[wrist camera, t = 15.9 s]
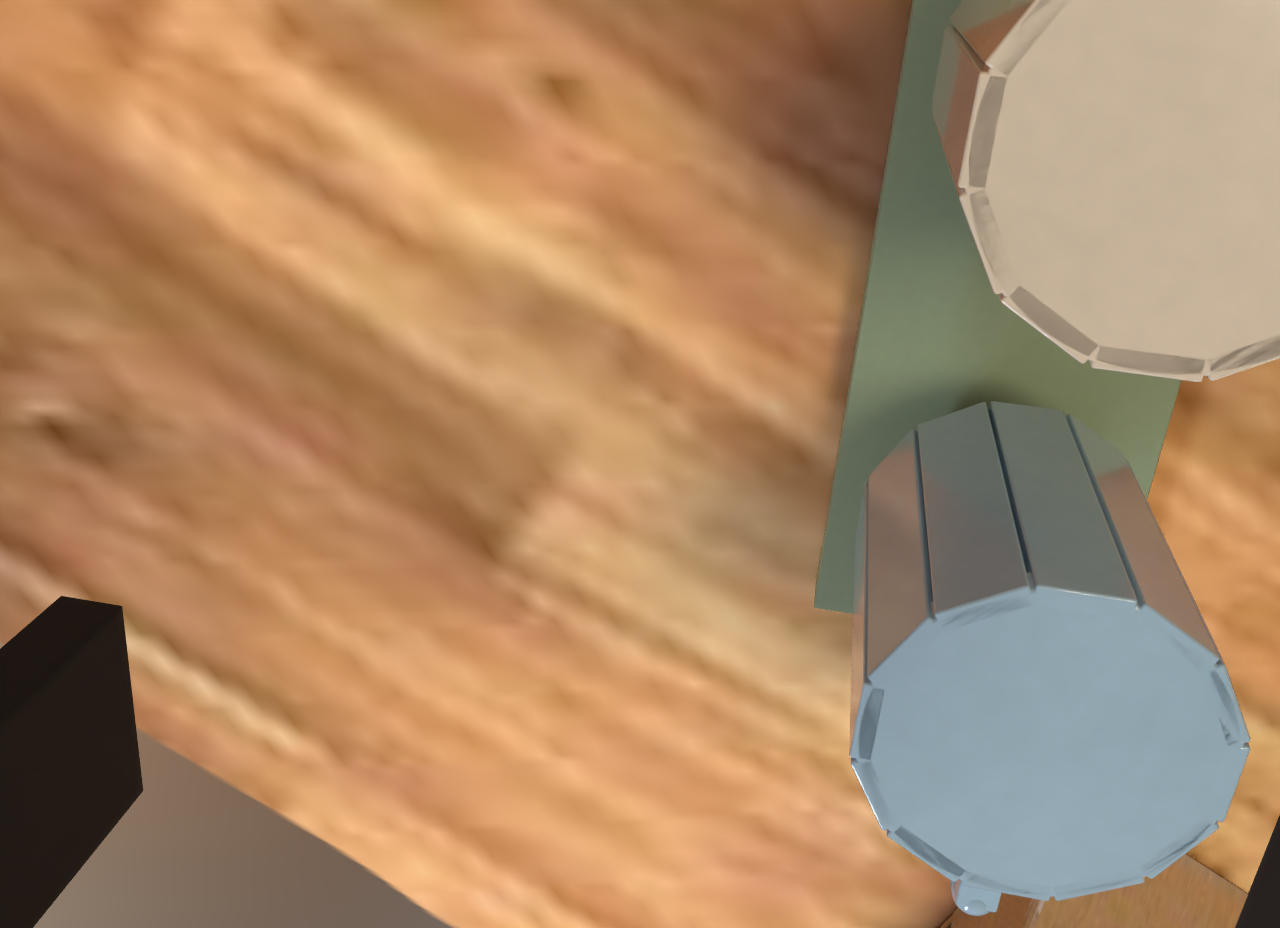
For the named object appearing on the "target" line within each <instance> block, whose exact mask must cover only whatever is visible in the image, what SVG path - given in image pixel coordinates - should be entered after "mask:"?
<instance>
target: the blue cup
mask: <svg viewBox="0 0 1280 928" xmlns="http://www.w3.org/2000/svg"><path fill="white" fill-rule="evenodd" d="M917 429H918V432H917V431H916V430H915V429H911V430H910V431H909V432H908V433H907V435H906V436H905V437H904V438H903V439H902V440H901V441H900V442H899V443H898V444H897V446H896V447H895V448H894V449H893V450H892V451H891V452H890V453H889V454H888V455H887V457H886V458H885V459H884V460H883V461H882V462H881V463H880V464H879V465H878V466H877V468H876V469H875V470H874V471H873V472H872V473H871V474H870V475H869V477H868V482H866V483H865V487H864V492H863V498H862V504H861V509H860V515H859V520H858V526H857V532H856V537H855V561H854V598H853V636H852V673H851V711H850V748H849V755H850V757H851V765H852V767H853V770H854V772H855V774H856V776H857V778H858V780H859V782H860V784H861V787H862V789H863V791H864V793H865V795H866V797H867V799H868V802H869V804H870V806H871V808H872V810H873V812H874V814H875V816H876V819H877V821H878V823H879V825H880V827H881V829H882V830H887V836H888V837H889V838H891V839H892V840H894V841H895V842H896V843H898V844H899V845H901V846H902V847H904V848H905V849H907V850H908V851H909V852H911V853H912V854H914V855H915V856H917V857H918V858H919V859H921V860H922V861H924V862H925V863H927V864H928V865H930V866H931V867H932V868H934V869H935V870H937V871H938V872H940V873H941V874H943V875H944V876H945V877H947V878H948V879H950V880H951V892H952V897H953V900H954V902H955V904H956V905H957V907H958V908H959V909H960V910H961V911H963V912H964V913H966V914H968V915H972V916H983V915H985V914H987V913H989V912H996V911H997V909H998V905H999V902H1000V898H1001V894H1002V893H1005V894H1011V895H1016V896H1022V897H1027V898H1032V899H1038V900H1043V901H1049V899H1050V897H1054V898H1055V900H1056V901H1061V900H1065V899H1070V898H1075V897H1080V896H1084V895H1089V894H1094V893H1098V892H1103V891H1108V890H1112V889H1117V888H1122V887H1126V886H1131V885H1136V884H1141V883H1144V881H1145V879H1144V877H1146V876H1147V877H1149V878H1150V879H1153V878H1154V877H1156V876H1157V875H1158V874H1160V873H1161V872H1162V871H1164V870H1165V869H1166V868H1167V867H1169V866H1170V865H1171V864H1173V863H1174V862H1175V861H1177V860H1178V859H1179V858H1181V857H1182V856H1183V855H1184V854H1186V853H1187V852H1188V851H1190V850H1191V849H1192V848H1194V847H1195V846H1196V845H1198V844H1199V843H1200V842H1202V841H1203V840H1204V839H1205V838H1207V837H1208V836H1209V835H1211V834H1212V833H1213V832H1215V831H1216V830H1217V829H1218V828H1219V825H1218V823H1217V821H1219V822H1223V821H1224V820H1225V817H1226V815H1227V812H1228V809H1229V806H1230V804H1231V801H1232V798H1233V795H1234V793H1235V790H1236V787H1237V784H1238V781H1239V779H1240V776H1241V773H1242V770H1243V768H1244V765H1245V762H1246V759H1247V757H1248V754H1249V751H1250V746H1249V744H1248V742H1249V741H1250V736H1249V733H1248V730H1247V727H1246V724H1245V721H1244V718H1243V715H1242V712H1241V709H1240V706H1239V703H1238V700H1237V698H1236V695H1235V692H1234V689H1233V686H1232V683H1231V680H1230V677H1229V674H1228V671H1227V668H1226V665H1225V663H1224V661H1223V659H1222V657H1221V655H1220V653H1219V651H1218V648H1217V646H1216V644H1215V642H1214V640H1213V638H1212V636H1211V634H1210V632H1209V630H1208V627H1207V625H1206V623H1205V621H1204V619H1203V617H1202V615H1201V613H1200V611H1199V609H1198V606H1197V604H1196V602H1195V600H1194V598H1193V596H1192V594H1191V592H1190V590H1189V588H1188V585H1187V583H1186V581H1185V579H1184V577H1183V575H1182V573H1181V571H1180V569H1179V567H1178V564H1177V562H1176V560H1175V558H1174V556H1173V554H1172V552H1171V550H1170V548H1169V546H1168V543H1167V541H1166V539H1165V537H1164V535H1163V533H1162V531H1161V529H1160V527H1159V525H1158V522H1157V520H1156V518H1155V516H1154V514H1153V512H1152V510H1151V508H1150V506H1149V504H1148V501H1147V499H1146V497H1145V495H1144V493H1143V491H1142V489H1141V487H1140V485H1139V483H1138V480H1137V478H1136V476H1135V474H1134V472H1133V470H1132V468H1131V466H1130V464H1129V462H1128V460H1127V459H1125V457H1124V455H1123V453H1122V452H1120V451H1119V450H1118V449H1116V448H1115V447H1114V446H1112V445H1111V444H1110V443H1109V442H1107V441H1106V440H1105V439H1103V438H1102V437H1101V436H1099V435H1098V434H1097V433H1095V432H1094V431H1093V430H1091V429H1090V428H1089V427H1087V426H1086V425H1085V424H1083V423H1082V422H1081V421H1079V420H1078V419H1077V418H1075V417H1074V416H1073V415H1071V414H1067V415H1066V416H1065V414H1064V412H1063V411H1062V410H1055V409H1048V408H1041V407H1033V406H1026V405H1019V404H1011V403H1004V402H997V401H991V403H990V406H989V409H988V406H987V404H986V402H982V403H979V404H976V405H973V406H970V407H968V408H965V409H962V410H959V411H956V412H953V413H950V414H948V415H945V416H942V417H939V418H936V419H933V420H930V421H927V422H925V423H922V424H919V425H918V426H917Z"/></svg>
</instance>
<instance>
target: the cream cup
mask: <svg viewBox="0 0 1280 928" xmlns="http://www.w3.org/2000/svg"><path fill="white" fill-rule="evenodd" d="M949 20H950V21H951V23H952V24H953V25H954V26H952V25H946V27H945V31H944V36H943V42H942V48H941V53H940V59H939V65H938V70H937V76H936V81H935V87H934V93H933V98H932V104H931V106H932V109H933V113H932V116H933V119H934V122H935V125H936V129H937V132H938V135H939V138H940V141H941V144H942V147H943V150H944V153H945V157H946V160H947V163H948V166H949V169H950V172H951V175H952V178H953V181H954V185H955V188H956V191H957V194H958V197H959V200H960V203H961V205H962V208H963V211H964V213H965V216H966V219H967V222H968V224H969V227H970V230H971V232H972V235H973V238H974V241H975V243H976V246H977V249H978V251H979V254H980V257H981V259H982V262H983V265H984V268H985V270H986V273H987V276H988V278H989V281H990V284H991V287H992V289H993V292H994V293H995V294H998V295H999V298H1000V301H1001V303H1002V304H1003V305H1005V306H1006V307H1007V308H1009V309H1010V310H1011V311H1013V312H1014V313H1015V314H1016V315H1018V316H1019V317H1020V318H1022V319H1023V320H1024V321H1026V322H1027V323H1028V324H1030V325H1031V326H1032V327H1034V328H1035V329H1036V330H1038V331H1039V332H1040V333H1041V334H1043V335H1044V336H1045V337H1047V338H1048V339H1049V340H1051V341H1052V342H1053V343H1055V344H1056V345H1057V346H1059V347H1060V348H1061V349H1063V350H1064V351H1065V352H1066V353H1068V354H1069V355H1070V356H1072V357H1073V358H1074V359H1076V360H1077V361H1078V362H1080V363H1082V364H1083V363H1085V362H1086V361H1087V360H1088V362H1089V364H1090V366H1091V367H1092V368H1095V369H1103V370H1110V371H1118V372H1125V373H1133V374H1140V375H1148V376H1156V377H1163V378H1171V379H1178V380H1186V381H1193V382H1201V381H1202V379H1203V376H1207V377H1208V378H1209V379H1210V380H1211V381H1213V380H1216V379H1219V378H1222V377H1225V376H1228V375H1231V374H1234V373H1237V372H1240V371H1243V370H1246V369H1249V368H1252V367H1255V366H1258V365H1261V364H1264V363H1267V362H1270V361H1273V360H1276V359H1279V358H1280V0H963V1H962V2H961V3H960V5H959V6H958V7H957V8H956V10H955V11H954V12H953V14H952V15H951V16H950V18H949Z"/></svg>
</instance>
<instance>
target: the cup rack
mask: <svg viewBox="0 0 1280 928" xmlns="http://www.w3.org/2000/svg"><path fill="white" fill-rule="evenodd" d="M962 1H963V0H912V6H911V12H910V18H909V24H908V30H907V36H906V42H905V48H904V54H903V60H902V66H901V72H900V78H899V84H898V90H897V96H896V102H895V108H894V114H893V120H892V127H891V133H890V139H889V145H888V151H887V157H886V163H885V169H884V175H883V181H882V187H881V193H880V199H879V205H878V211H877V217H876V223H875V229H874V235H873V241H872V247H871V254H870V260H869V266H868V272H867V278H866V284H865V290H864V296H863V302H862V308H861V314H860V320H859V326H858V332H857V338H856V344H855V350H854V356H853V362H852V368H851V375H850V381H849V387H848V393H847V399H846V405H845V411H844V417H843V423H842V429H841V435H840V441H839V447H838V453H837V459H836V465H835V471H834V477H833V483H832V489H831V495H830V502H829V508H828V514H827V520H826V526H825V532H824V538H823V544H822V550H821V556H820V562H819V568H818V574H817V580H816V588H815V600H814V607H815V608H820V609H826V610H832V611H838V612H845V613H851V614H853V598H854V561H855V537H856V532H857V526H858V520H859V515H860V509H861V504H862V498H863V492H864V487H865V483H866V482H868V477H869V475H870V474H871V473H872V472H873V471H874V470H875V469H876V468H877V466H878V465H879V464H880V463H881V462H882V461H883V460H884V459H885V458H886V457H887V455H888V454H889V453H890V452H891V451H892V450H893V449H894V448H895V447H896V446H897V444H898V443H899V442H900V441H901V440H902V439H903V438H904V437H905V436H906V435H907V433H908V432H909V431H910V430H911V429H915V430H916V431H917V432H918V429H917V426H918V425H919V424H922V423H925V422H927V421H930V420H933V419H936V418H939V417H942V416H945V415H948V414H950V413H953V412H956V411H959V410H962V409H965V408H968V407H970V406H973V405H976V404H979V403H982V402H986V404H987V406H988V409H989V406H990V403H991V401H997V402H1004V403H1011V404H1019V405H1026V406H1033V407H1041V408H1048V409H1055V410H1062V411H1063V412H1064V414H1065V416H1066V415H1067V414H1071V415H1073V416H1074V417H1075V418H1077V419H1078V420H1079V421H1081V422H1082V423H1083V424H1085V425H1086V426H1087V427H1089V428H1090V429H1091V430H1093V431H1094V432H1095V433H1097V434H1098V435H1099V436H1101V437H1102V438H1103V439H1105V440H1106V441H1107V442H1109V443H1110V444H1111V445H1112V446H1114V447H1115V448H1116V449H1118V450H1119V451H1120V452H1122V453H1123V455H1124V457H1125V459H1127V460H1128V462H1129V464H1130V466H1131V468H1132V470H1133V472H1134V474H1135V476H1136V478H1137V480H1138V483H1139V485H1140V487H1141V489H1142V491H1143V493H1144V495H1145V497H1146V499H1147V498H1148V494H1149V491H1150V487H1151V484H1152V481H1153V477H1154V474H1155V470H1156V467H1157V463H1158V460H1159V456H1160V453H1161V449H1162V446H1163V442H1164V439H1165V435H1166V432H1167V428H1168V425H1169V421H1170V418H1171V415H1172V411H1173V408H1174V404H1175V401H1176V397H1177V394H1178V390H1179V387H1180V383H1181V380H1178V379H1171V378H1163V377H1156V376H1148V375H1140V374H1133V373H1125V372H1118V371H1110V370H1103V369H1095V368H1092V367H1091V366H1090V364H1089V362H1088V360H1087V361H1086V362H1085V363H1083V364H1082V363H1080V362H1078V361H1077V360H1076V359H1074V358H1073V357H1072V356H1070V355H1069V354H1068V353H1066V352H1065V351H1064V350H1063V349H1061V348H1060V347H1059V346H1057V345H1056V344H1055V343H1053V342H1052V341H1051V340H1049V339H1048V338H1047V337H1045V336H1044V335H1043V334H1041V333H1040V332H1039V331H1038V330H1036V329H1035V328H1034V327H1032V326H1031V325H1030V324H1028V323H1027V322H1026V321H1024V320H1023V319H1022V318H1020V317H1019V316H1018V315H1016V314H1015V313H1014V312H1013V311H1011V310H1010V309H1009V308H1007V307H1006V306H1005V305H1003V304H1002V303H1001V301H1000V298H999V295H998V294H995V293H994V292H993V289H992V287H991V284H990V281H989V278H988V276H987V273H986V270H985V268H984V265H983V262H982V259H981V257H980V254H979V251H978V249H977V246H976V243H975V241H974V238H973V235H972V232H971V230H970V227H969V224H968V222H967V219H966V216H965V213H964V211H963V208H962V205H961V203H960V200H959V197H958V194H957V191H956V188H955V185H954V181H953V178H952V175H951V172H950V169H949V166H948V163H947V160H946V157H945V153H944V150H943V147H942V144H941V141H940V138H939V135H938V132H937V129H936V125H935V122H934V119H933V116H932V113H933V109H932V106H931V104H932V98H933V93H934V87H935V81H936V76H937V70H938V65H939V59H940V53H941V48H942V42H943V36H944V31H945V27H946V25H952V26H954V25H953V24H952V23H951V21H950V20H949V18H950V16H951V15H952V14H953V12H954V11H955V10H956V8H957V7H958V6H959V5H960V3H961V2H962Z"/></svg>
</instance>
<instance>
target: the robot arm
mask: <svg viewBox="0 0 1280 928" xmlns="http://www.w3.org/2000/svg"><path fill="white" fill-rule="evenodd" d="M142 791H143V785H142V777H141V767H140V758H139V750H138V741H137V732H136V724H135V715H134V706H133V697H132V689H131V680H130V671H129V662H128V654H127V645H126V636H125V627H124V619H123V610H122V606H118V605H112V604H106V603H100V602H94V601H88V600H82V599H76V598H70V597H64V596H61V597H60V598H58V599H57V600H56V601H55V602H54V603H53V604H51V605H50V606H49V607H48V608H47V609H46V610H45V611H43V612H42V613H41V614H40V615H39V616H38V617H36V618H35V619H34V620H33V621H32V622H31V623H30V624H28V625H27V626H26V627H25V628H24V629H23V630H21V631H20V632H19V633H18V634H17V635H16V636H15V637H13V638H12V639H11V640H10V641H9V642H8V643H7V644H5V645H4V646H3V647H2V648H1V649H0V928H33V927H34V926H35V924H36V923H37V922H38V921H39V919H40V918H41V917H42V916H43V914H44V913H45V912H46V911H47V909H48V908H49V907H50V906H51V905H52V903H53V902H54V901H55V900H56V898H57V897H58V896H59V894H60V893H61V892H62V891H63V889H64V888H65V887H66V886H67V885H68V883H69V882H70V881H71V880H72V878H73V877H74V876H75V875H76V873H77V872H78V871H79V870H80V869H81V867H82V866H83V865H84V863H85V862H86V861H87V860H88V859H89V857H90V856H91V855H92V854H93V852H94V851H95V850H96V849H97V847H98V846H99V845H100V844H101V842H102V841H103V840H104V839H105V837H106V836H107V835H108V834H109V832H110V831H111V830H112V829H113V828H114V826H115V825H116V824H117V823H118V821H119V820H120V819H121V818H122V816H123V815H124V814H125V813H126V811H127V810H128V809H129V808H130V806H131V805H132V804H133V803H134V801H135V800H136V799H137V798H138V796H139V795H140V794H141V793H142ZM1235 928H1280V816H1279V818H1278V821H1277V823H1276V826H1275V828H1274V831H1273V833H1272V836H1271V838H1270V841H1269V843H1268V846H1267V848H1266V851H1265V853H1264V856H1263V858H1262V861H1261V863H1260V866H1259V868H1258V871H1257V873H1256V876H1255V878H1254V881H1253V883H1252V886H1251V888H1250V891H1249V894H1248V896H1247V899H1246V901H1245V904H1244V906H1243V909H1242V911H1241V914H1240V916H1239V919H1238V921H1237V924H1236V926H1235Z"/></svg>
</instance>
